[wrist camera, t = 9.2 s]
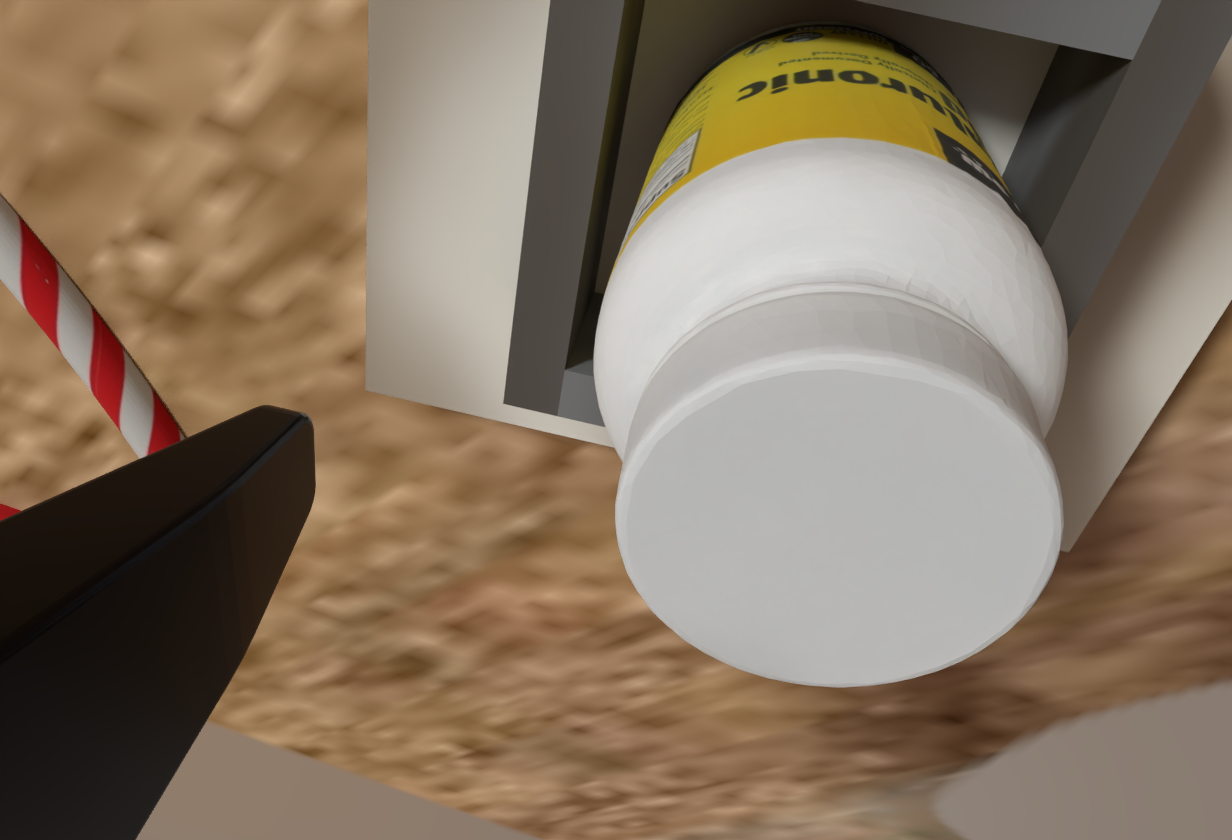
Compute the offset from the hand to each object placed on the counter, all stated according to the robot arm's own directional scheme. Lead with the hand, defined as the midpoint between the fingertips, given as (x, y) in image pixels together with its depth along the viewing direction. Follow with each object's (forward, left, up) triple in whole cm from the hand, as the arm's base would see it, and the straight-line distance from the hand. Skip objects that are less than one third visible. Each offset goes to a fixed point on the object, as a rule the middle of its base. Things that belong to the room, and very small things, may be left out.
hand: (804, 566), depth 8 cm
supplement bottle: (0, 0, -10) cm, 10 cm away
